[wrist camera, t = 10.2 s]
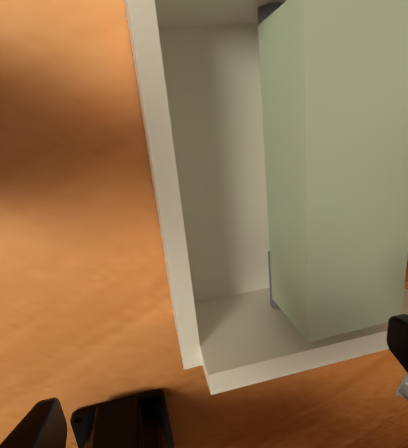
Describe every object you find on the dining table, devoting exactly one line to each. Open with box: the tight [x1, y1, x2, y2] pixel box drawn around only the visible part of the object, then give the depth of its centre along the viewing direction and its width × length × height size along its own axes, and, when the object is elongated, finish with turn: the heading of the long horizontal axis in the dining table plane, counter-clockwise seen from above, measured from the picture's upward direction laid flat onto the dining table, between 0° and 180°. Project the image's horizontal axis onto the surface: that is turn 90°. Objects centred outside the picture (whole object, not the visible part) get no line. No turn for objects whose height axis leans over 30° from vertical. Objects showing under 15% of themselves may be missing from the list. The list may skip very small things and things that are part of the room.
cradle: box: [124, 0, 408, 395], centre depth 16 cm, size 18×14×7 cm
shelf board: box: [258, 0, 408, 342], centre depth 14 cm, size 14×5×4 cm, turn 7°
